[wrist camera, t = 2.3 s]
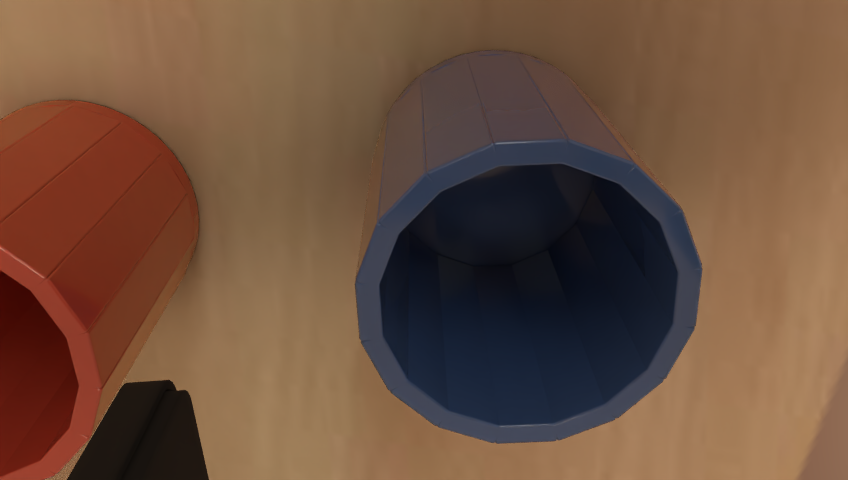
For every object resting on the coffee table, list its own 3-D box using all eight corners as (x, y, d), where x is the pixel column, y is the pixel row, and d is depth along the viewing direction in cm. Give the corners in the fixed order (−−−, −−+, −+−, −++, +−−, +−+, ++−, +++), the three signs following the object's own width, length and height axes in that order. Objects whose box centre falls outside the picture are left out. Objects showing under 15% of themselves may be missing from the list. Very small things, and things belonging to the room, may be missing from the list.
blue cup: (421, 14, 18) (426, 87, 11) (644, 97, 19) (765, 210, 12) (345, 228, 20) (313, 391, 14) (548, 295, 21) (608, 477, 14)
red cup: (-16, 65, 18) (-248, 164, 12) (223, 145, 19) (128, 278, 13) (-44, 271, 20) (-254, 450, 14) (172, 334, 21) (68, 530, 15)
